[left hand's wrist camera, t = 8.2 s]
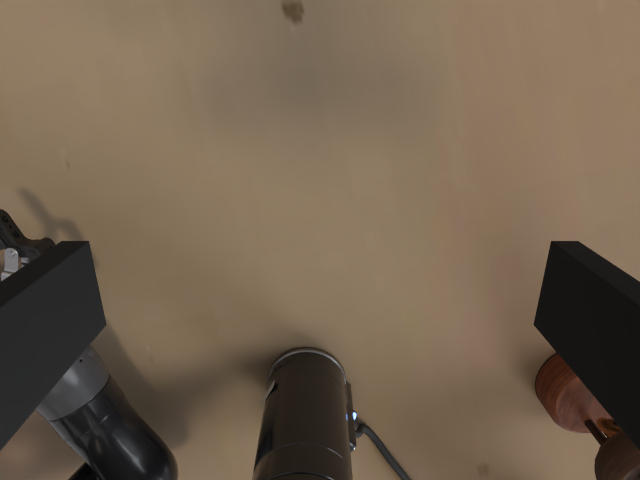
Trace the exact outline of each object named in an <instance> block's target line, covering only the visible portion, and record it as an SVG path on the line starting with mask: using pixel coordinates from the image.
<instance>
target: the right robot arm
mask: <svg viewBox="0 0 640 480" xmlns="http://www.w3.org/2000/svg"><path fill="white" fill-rule="evenodd" d="M54 246H55V244H54V242H53V241H52V240H51V239H50V238H43V239H41V240H30V239H27V238H26V237H25V236H24V235H23V234H22V232H21V231H20V230H19V228H18V227H17V225H16V224H15V223H14V221H13V220H12V219H11V217H10V216H9V214H8V213H7V212H5V211H4V210H3V209H2V210H1V209H0V250H2V249H4V248H5V249H6V250H5V252H4V258H5V268H4V271H3V272H2V274H1V277H0V282H1V281H2V280H4V279H5V278H7V277H8V276H10V275H11V274H13V273H14V272H16V271H17V270H19V269H21V268H22V267H24V266H25V265H27V264H28V263H30V262H31V261H33V260H34V259H36V258H37V257H39V256H40V255H42V254H43V253H45V252H46V251H48V250H49V249H51V248H52V247H54ZM264 401H265V405H264V411H263V417H262V423H261V429H260V435H259V441H258V447H257V453H256V459H255V465H254V471H253V478H252V480H353V477H352V466H351V452H352V451H353V450H354V449H355V448H356V438H358V437H361V436H362V434H363V432H364V433H365V434H367V435H368V436H369V437H370V438H371V440H372V441H373V442H374V443H375V445H376V446H377V448H378V449H379V450H380V452H381V453H382V455H383V456H384V458H385V459H386V460H387V462H388V463H389V464H390V466H391V467H392V468H393V469H394V471H395V472H396V473H397V474H398V475H399V477H400V478H401V479H402V480H410V479H409V477H408V476H407V475H406V473H405V472H404V471H403V470H402V468H401V467H400V466H399V465H398V464H397V462H396V461H395V460H394V459H393V457H392V456H391V454H390V453H389V452H388V450H387V449H386V447H385V446H384V444H383V443H382V441H381V440H380V439H379V438H378V436H377V435H376V434H375V433H374V432H373V431H372V430H371V429H370V428H369V427H368V426H366V425H363V424H361V425H359V426H358V422H357V413H356V412H355V411H354V410H353V404H352V394H351V385H350V384H349V383H347V382H346V378H345V372H344V369H343V367H342V366H341V364H340V363H339V361H338V360H337V359H336V358H335V357H333V356H332V355H331V354H329V353H327V352H325V351H322V350H319V349H315V348H298V349H294V350H291V351H289V352H286V353H285V354H283V355H281V356H280V357H279V358H278V359H277V360H276V361H275V362H274V363H273V365H272V367H271V369H270V372H269V377H268V388H267V393H266V394H265V396H264V398H263V399H262V402H261V406H262V405H263V403H264ZM35 410H36V411H37V412H38V413H40V414H41V415H42V416H43V417H44V418H45V419H46V420H47V422H48V423H49V424H50V425H51V427H52V428H53V429H54V430H55V431H56V433H57V434H58V435H59V436H60V437H61V439H62V440H63V441H64V442H65V443H66V444H67V445H68V446H69V447H70V448H71V449H73V450H74V451H75V452H76V453H77V454H78V455H80V456H81V457H82V458H83V459H84V460H85V461H86V462H85V463H84V464H83V465H82V466H81V467H80V468H79V469H78V470H77V471H76V472H75V473H74V474H73V475H72V476H71V477H70V478H69V479H68V480H178V466H177V462H176V459H175V457H174V455H173V453H172V452H171V450H170V449H169V448H168V447H167V445H166V444H165V443H164V442H163V441H162V439H161V438H160V437H159V436H158V435H157V434H156V433H155V432H154V431H153V429H152V428H151V427H150V426H149V425H148V424H147V423H146V422H145V421H144V420H143V419H142V418H141V417H140V416H139V415H138V414H137V413H136V411H135V410H134V409H133V407H132V406H131V404H130V403H129V401H128V400H127V398H126V396H125V395H124V393H123V392H122V390H121V389H120V388H119V386H118V385H117V384H116V382H115V381H114V379H113V378H112V377H111V375H110V374H109V372H108V371H107V369H106V367H105V365H104V363H103V361H102V359H101V358H100V356H99V354H98V353H97V352H96V350H95V349H94V347H93V346H92V345H91V343H90V345H89V346H88V347H87V348H86V349H85V351H84V352H83V353H82V354H81V355H80V357H79V358H78V359H77V360H76V361H75V363H74V364H73V365H72V366H71V367H70V368H69V370H68V371H67V372H66V373H65V374H64V376H63V377H62V378H61V379H60V380H59V382H58V383H57V384H56V385H55V386H54V388H53V389H52V390H51V391H50V392H49V393H48V395H47V396H46V397H45V398H44V399H43V401H42V402H41V403H40V404H39V405H38V407H37V408H36V409H35ZM356 428H357V430H355V429H356Z"/></svg>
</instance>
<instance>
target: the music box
mask: <svg viewBox="0 0 640 480" xmlns="http://www.w3.org/2000/svg"><path fill="white" fill-rule="evenodd" d="M536 393H537V396H538V398H539V400H540V402H541V403H542V405H543V406H544V408H545V409H546V411H547V412H548V414H549V415H550V416H551V418H552V419H553V421H554V422H555V423H556V424H557V425H559V426H560V427H562V428H563V429H566V430H568V431H572V432H577V433H592V435H593V436H594V437H595V439H596V440H597V441H598V443H599V444H600V445H601V446H600V448H599V451H598V453H597V456H596V458H595V475H596V479H597V480H640V451H639V449H638V448H637V447H636V446H635V445H634V443H633V442H632V441H631V440H630V439H629V437H628V436H627V435H626V434H625V433H624V432H623V430H622V429H621V428H620V427H619V426H618V424H617V423H616V422H615V421H614V420H613V418H612V417H611V416H610V415H609V414H608V413H607V411H606V410H605V409H604V408H603V407H602V405H601V404H600V403H599V402H598V401H597V399H596V398H595V397H594V396H593V395H592V393H591V392H590V391H589V390H588V389H587V388H586V386H585V385H584V384H583V383H582V382H581V380H580V379H579V378H578V377H577V376H576V374H575V373H574V372H573V371H572V370H571V368H570V367H569V366H568V365H567V364H566V363H565V361H564V360H563V359H562V358H561V357H560V355H559V354H556V355H555V356H553V357H552V358H551V359H550V360H549V361H547V363H546V364H545V365H544V366H543V367H542V369H541V370H540V372H539V374H538V377H537V380H536ZM601 431H603V433H604V434H605V435H606V436H607V438H606V437H605V436H604V434H603V433H602V432H601Z"/></svg>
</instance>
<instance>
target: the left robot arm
mask: <svg viewBox="0 0 640 480" xmlns="http://www.w3.org/2000/svg"><path fill="white" fill-rule="evenodd" d="M105 326H106V321H105V316H104V311H103V307H102V302H101V297H100V292H99V287H98V283H97V278H96V273H95V268H94V264H93V259H92V254H91V249H90V244H89V241H61V242H60V243H58V244H57V245H55V246H54V247H52V248H51V249H49V250H48V251H46V252H45V253H43V254H42V255H40V256H39V257H37V258H36V259H34V260H33V261H31V262H30V263H28V264H27V265H25V266H24V267H22V268H21V269H19V270H17V271H16V272H14V273H13V274H11V275H10V276H8V277H7V278H5V279H4V280H2V281H1V282H0V451H1V449H2V448H3V447H4V446H5V445H6V443H7V442H8V441H9V440H10V439H11V437H12V436H13V435H14V434H15V433H16V432H17V430H18V429H19V428H20V427H21V426H22V424H23V423H24V422H25V421H26V420H27V418H28V417H29V416H30V415H31V414H32V413H33V411H34V410H35V409H36V408H37V407H38V405H39V404H40V403H41V402H42V401H43V399H44V398H45V397H46V396H47V395H48V393H49V392H50V391H51V390H52V389H53V388H54V386H55V385H56V384H57V383H58V382H59V380H60V379H61V378H62V377H63V376H64V374H65V373H66V372H67V371H68V370H69V368H70V367H71V366H72V365H73V364H74V363H75V361H76V360H77V359H78V358H79V357H80V355H81V354H82V353H83V352H84V351H85V349H86V348H87V347H88V346H89V345H90V343H91V342H92V341H93V340H94V339H95V338H96V336H97V335H98V334H99V333H100V332H101V330H102V329H103V328H104V327H105ZM534 326H535V327H536V328H537V329H538V330H539V332H540V333H541V334H542V335H543V336H544V338H545V339H546V340H547V341H548V342H549V343H550V345H551V346H552V347H553V348H554V349H555V351H556V352H557V353H558V354H559V355H560V357H561V358H562V359H563V360H564V361H565V363H566V364H567V365H568V366H569V367H570V368H571V370H572V371H573V372H574V373H575V374H576V376H577V377H578V378H579V379H580V380H581V382H582V383H583V384H584V385H585V386H586V388H587V389H588V390H589V391H590V392H591V393H592V395H593V396H594V397H595V398H596V399H597V401H598V402H599V403H600V404H601V405H602V407H603V408H604V409H605V410H606V411H607V413H608V414H609V415H610V416H611V417H612V418H613V420H614V421H615V422H616V423H617V424H618V426H619V427H620V428H621V429H622V430H623V432H624V433H625V434H626V435H627V436H628V437H629V439H630V440H631V441H632V442H633V443H634V445H635V446H636V447H637V448H638V449H639V451H640V282H639V281H638V280H636V279H635V278H633V277H632V276H630V275H629V274H627V273H626V272H624V271H623V270H621V269H619V268H618V267H616V266H615V265H613V264H612V263H610V262H609V261H607V260H606V259H604V258H603V257H601V256H600V255H598V254H597V253H595V252H594V251H592V250H591V249H589V248H588V247H586V246H585V245H583V244H582V243H580V242H579V241H551V244H550V249H549V254H548V259H547V264H546V268H545V273H544V278H543V283H542V287H541V292H540V297H539V302H538V306H537V311H536V316H535V321H534Z"/></svg>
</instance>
